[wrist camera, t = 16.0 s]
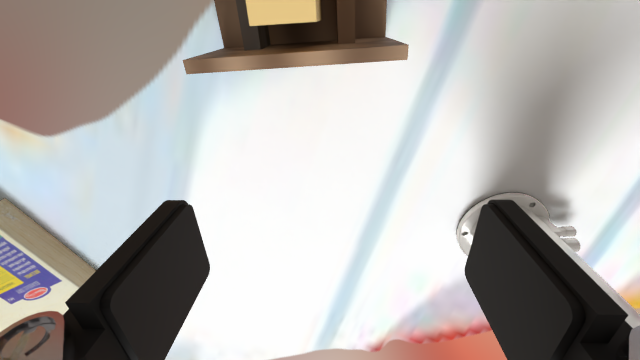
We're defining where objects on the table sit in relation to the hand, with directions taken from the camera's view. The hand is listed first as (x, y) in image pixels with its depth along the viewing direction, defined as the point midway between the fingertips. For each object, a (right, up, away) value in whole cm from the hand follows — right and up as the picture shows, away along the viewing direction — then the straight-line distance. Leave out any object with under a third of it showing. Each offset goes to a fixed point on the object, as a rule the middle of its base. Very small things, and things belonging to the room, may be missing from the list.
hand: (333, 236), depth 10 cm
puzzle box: (-58, -17, +44) cm, 74 cm away
